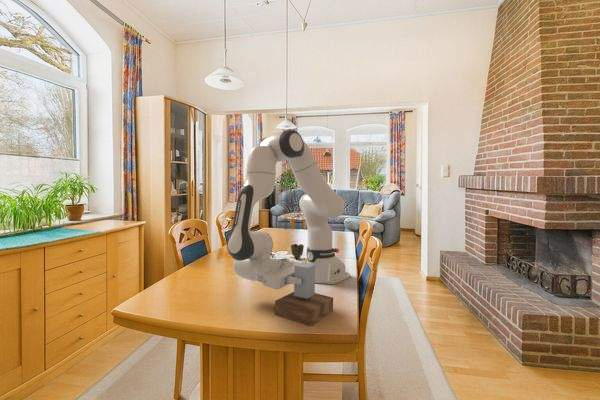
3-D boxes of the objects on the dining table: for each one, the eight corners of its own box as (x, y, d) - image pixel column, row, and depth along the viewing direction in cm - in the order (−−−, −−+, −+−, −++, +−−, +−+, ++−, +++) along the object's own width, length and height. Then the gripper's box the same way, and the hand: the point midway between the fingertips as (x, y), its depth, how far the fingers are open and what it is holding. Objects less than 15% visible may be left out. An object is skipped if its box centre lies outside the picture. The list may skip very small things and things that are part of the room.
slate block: (294, 295, 102) (294, 265, 102) (301, 291, 106) (302, 262, 106) (307, 298, 100) (307, 268, 99) (314, 294, 104) (315, 264, 103)
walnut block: (299, 302, 113) (299, 289, 113) (332, 312, 105) (333, 297, 105) (274, 315, 102) (274, 300, 101) (310, 327, 94) (311, 311, 93)
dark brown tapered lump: (305, 257, 179) (305, 244, 179) (301, 260, 172) (301, 246, 172) (292, 256, 181) (292, 243, 181) (288, 259, 174) (289, 245, 174)
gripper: (254, 270, 100) (290, 277, 93) (288, 257, 118) (321, 263, 111) (254, 289, 101) (289, 298, 94) (288, 274, 118) (320, 280, 111)
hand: (307, 278), depth 102 cm, fingers closed on slate block, 5 cm apart
